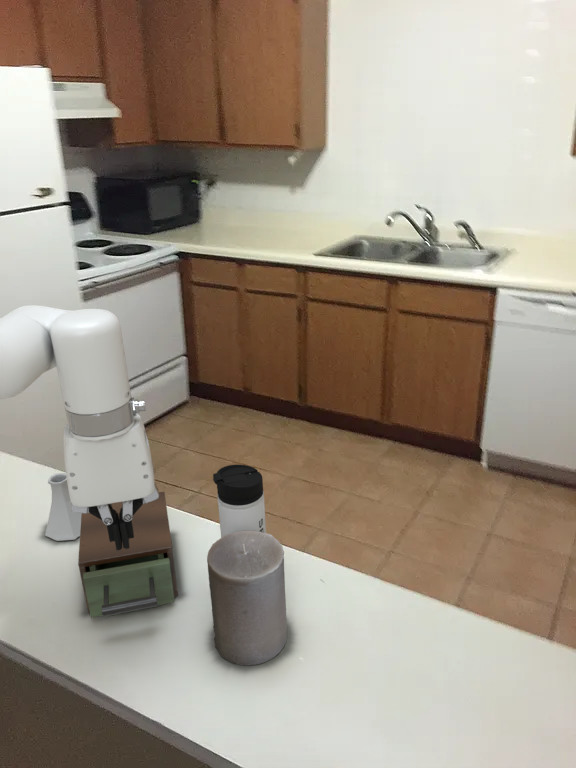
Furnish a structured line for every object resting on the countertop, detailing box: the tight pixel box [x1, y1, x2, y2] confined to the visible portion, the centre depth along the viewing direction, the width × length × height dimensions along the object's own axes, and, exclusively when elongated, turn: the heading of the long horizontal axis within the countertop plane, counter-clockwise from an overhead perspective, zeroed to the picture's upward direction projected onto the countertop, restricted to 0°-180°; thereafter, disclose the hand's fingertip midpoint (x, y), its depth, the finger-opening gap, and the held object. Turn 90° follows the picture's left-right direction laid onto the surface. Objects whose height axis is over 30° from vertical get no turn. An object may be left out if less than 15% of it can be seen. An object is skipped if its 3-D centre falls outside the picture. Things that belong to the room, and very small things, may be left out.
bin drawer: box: [83, 553, 176, 618], centre depth 95 cm, size 19×11×7 cm, turn 14°
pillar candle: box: [206, 531, 288, 666], centre depth 85 cm, size 10×10×15 cm
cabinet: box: [77, 491, 179, 614], centre depth 100 cm, size 15×13×9 cm
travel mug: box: [212, 464, 267, 538], centre depth 92 cm, size 6×7×20 cm
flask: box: [44, 472, 82, 542], centre depth 110 cm, size 7×7×10 cm
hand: (122, 542), depth 86 cm, fingers closed
